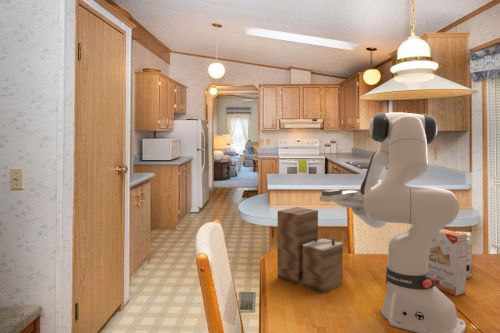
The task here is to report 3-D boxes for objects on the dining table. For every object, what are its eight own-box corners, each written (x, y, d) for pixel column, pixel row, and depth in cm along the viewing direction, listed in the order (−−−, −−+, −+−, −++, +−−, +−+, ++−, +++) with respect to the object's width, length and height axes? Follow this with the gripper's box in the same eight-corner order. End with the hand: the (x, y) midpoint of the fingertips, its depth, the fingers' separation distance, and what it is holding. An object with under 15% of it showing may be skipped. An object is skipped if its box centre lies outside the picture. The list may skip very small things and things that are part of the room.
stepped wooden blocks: (342, 284, 137) (343, 214, 136) (323, 293, 129) (324, 219, 127) (297, 270, 152) (297, 207, 150) (277, 278, 144) (277, 211, 142)
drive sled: (357, 196, 147) (357, 187, 147) (328, 201, 133) (328, 192, 133) (348, 195, 150) (348, 186, 150) (319, 200, 136) (319, 191, 136)
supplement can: (449, 278, 143) (450, 239, 142) (444, 271, 151) (445, 234, 150) (473, 280, 141) (474, 241, 140) (467, 273, 149) (468, 235, 148)
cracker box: (419, 283, 138) (420, 227, 137) (430, 280, 141) (431, 225, 140) (455, 297, 126) (457, 235, 124) (466, 293, 128) (468, 233, 127)
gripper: (343, 197, 163) (328, 183, 154) (388, 202, 148) (374, 187, 140) (339, 210, 161) (323, 197, 152) (384, 217, 146) (370, 203, 138)
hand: (348, 193), depth 146 cm, fingers closed on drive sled, 4 cm apart
